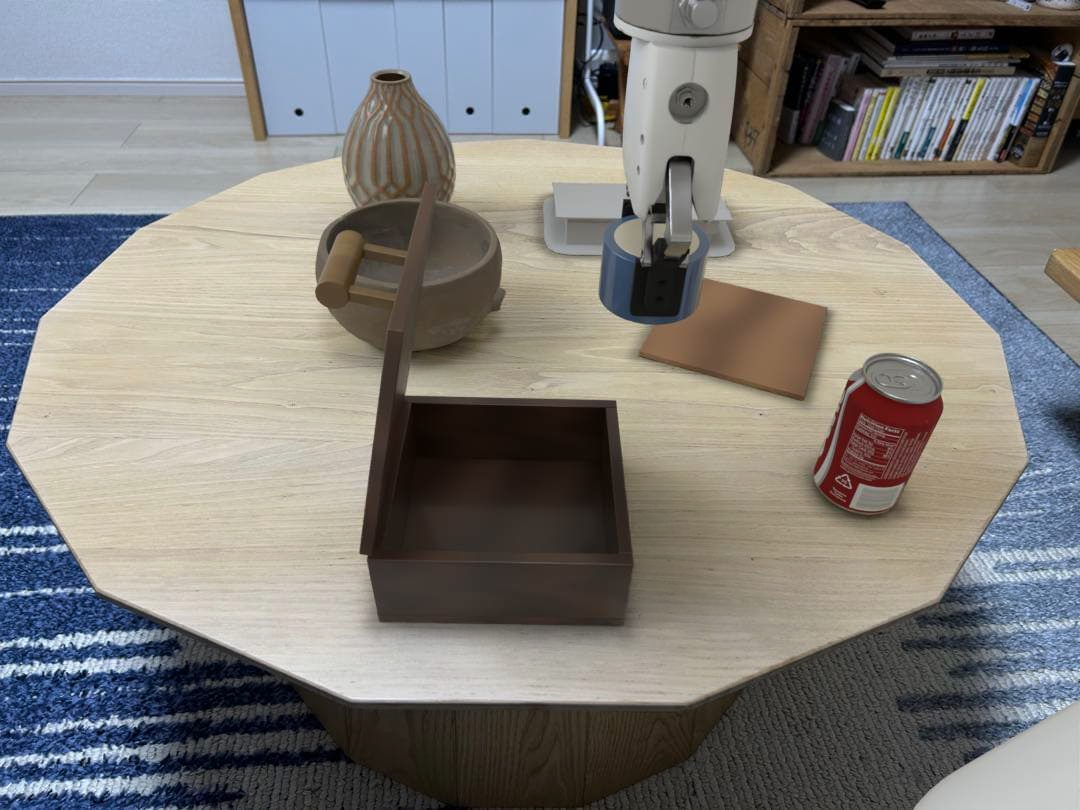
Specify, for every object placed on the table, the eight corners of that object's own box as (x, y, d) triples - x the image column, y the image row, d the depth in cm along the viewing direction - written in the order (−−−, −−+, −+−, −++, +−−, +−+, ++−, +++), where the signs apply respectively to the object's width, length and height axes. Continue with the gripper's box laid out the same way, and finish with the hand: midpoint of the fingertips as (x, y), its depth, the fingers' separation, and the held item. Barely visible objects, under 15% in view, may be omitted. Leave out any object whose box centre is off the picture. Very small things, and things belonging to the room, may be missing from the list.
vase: (344, 203, 98) (322, 60, 86) (446, 192, 101) (437, 52, 89) (358, 255, 88) (335, 101, 77) (469, 240, 91) (463, 91, 80)
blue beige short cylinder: (709, 282, 55) (720, 225, 52) (685, 335, 50) (696, 275, 47) (616, 261, 57) (622, 204, 54) (584, 310, 52) (588, 251, 49)
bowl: (536, 317, 80) (538, 231, 73) (411, 402, 69) (400, 311, 63) (420, 260, 88) (412, 177, 81) (292, 328, 77) (272, 240, 71)
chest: (608, 461, 65) (616, 399, 60) (623, 626, 53) (634, 565, 48) (408, 457, 64) (401, 395, 60) (378, 621, 52) (366, 560, 48)
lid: (438, 182, 48) (354, 164, 47) (404, 332, 36) (291, 311, 35) (405, 391, 60) (338, 379, 59) (371, 556, 48) (286, 544, 47)
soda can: (903, 526, 60) (964, 412, 52) (815, 514, 61) (861, 400, 53) (888, 465, 65) (941, 352, 57) (806, 454, 66) (848, 342, 58)
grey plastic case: (740, 257, 90) (747, 227, 88) (545, 254, 90) (546, 224, 87) (715, 197, 102) (721, 169, 99) (542, 194, 101) (543, 166, 98)
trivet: (826, 311, 82) (827, 307, 82) (803, 401, 71) (804, 396, 71) (681, 277, 87) (682, 272, 86) (638, 355, 76) (639, 351, 75)
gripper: (799, 51, 34) (725, 360, 46) (724, -40, 47) (681, 220, 59) (633, 47, 34) (601, 359, 46) (603, -43, 47) (584, 219, 59)
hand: (646, 279), depth 53 cm, fingers closed on blue beige short cylinder, 7 cm apart
